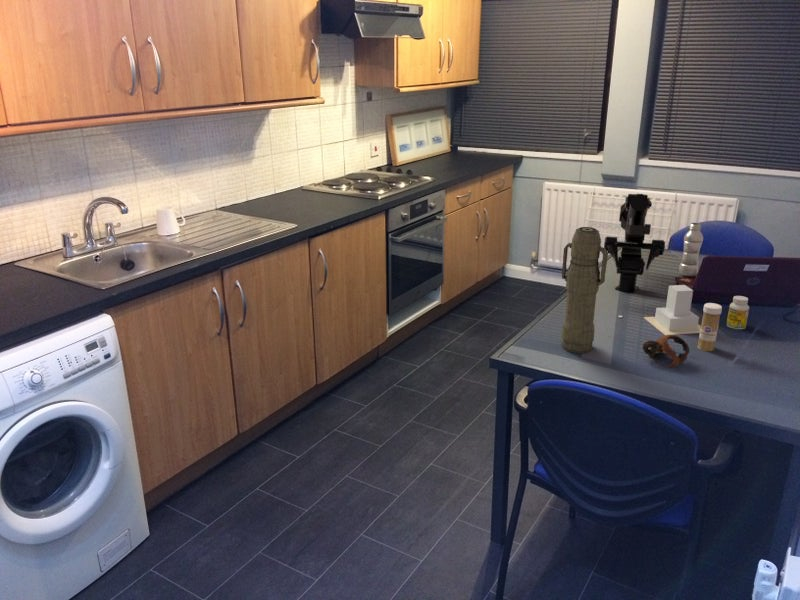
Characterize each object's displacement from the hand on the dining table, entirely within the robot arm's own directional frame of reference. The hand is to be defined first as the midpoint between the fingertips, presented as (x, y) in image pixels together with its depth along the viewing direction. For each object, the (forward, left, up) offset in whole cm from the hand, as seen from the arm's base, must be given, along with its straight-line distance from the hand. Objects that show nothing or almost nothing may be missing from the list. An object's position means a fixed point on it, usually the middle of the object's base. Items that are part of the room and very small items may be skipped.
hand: (631, 268), depth 210 cm
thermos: (+39, 0, -14) cm, 41 cm away
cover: (+7, +18, -13) cm, 23 cm away
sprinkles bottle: (+19, +30, -14) cm, 38 cm away
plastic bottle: (-45, +7, -14) cm, 48 cm away
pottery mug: (+33, +22, -14) cm, 42 cm away
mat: (+7, +18, -14) cm, 23 cm away
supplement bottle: (-3, +33, -14) cm, 36 cm away
